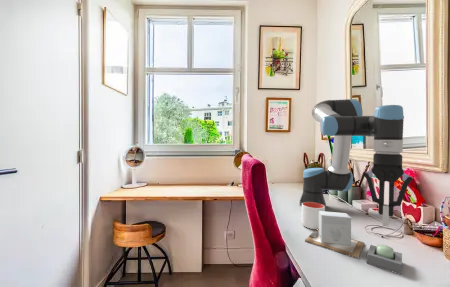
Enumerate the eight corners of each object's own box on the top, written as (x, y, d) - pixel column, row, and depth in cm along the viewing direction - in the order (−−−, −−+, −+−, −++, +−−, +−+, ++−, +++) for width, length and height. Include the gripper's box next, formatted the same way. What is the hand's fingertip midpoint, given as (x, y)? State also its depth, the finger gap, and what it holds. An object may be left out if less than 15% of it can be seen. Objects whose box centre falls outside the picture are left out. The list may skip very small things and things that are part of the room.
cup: (326, 231, 93) (327, 209, 93) (303, 229, 95) (303, 207, 95) (321, 223, 103) (321, 202, 103) (299, 221, 105) (300, 201, 105)
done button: (377, 252, 73) (377, 243, 73) (393, 257, 70) (393, 247, 70) (375, 257, 69) (376, 247, 69) (392, 263, 66) (393, 252, 66)
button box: (370, 253, 76) (370, 244, 76) (401, 262, 70) (402, 253, 70) (366, 263, 69) (367, 254, 69) (401, 274, 64) (401, 264, 64)
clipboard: (304, 241, 84) (304, 238, 84) (316, 230, 94) (316, 228, 94) (358, 258, 72) (358, 255, 72) (364, 244, 83) (364, 241, 83)
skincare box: (346, 238, 85) (346, 212, 85) (351, 246, 79) (352, 218, 79) (317, 235, 88) (318, 209, 88) (320, 242, 81) (321, 215, 81)
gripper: (362, 152, 71) (360, 223, 71) (414, 154, 62) (412, 234, 62) (365, 152, 76) (363, 217, 77) (413, 153, 68) (412, 227, 68)
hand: (385, 225), depth 69 cm, fingers closed
